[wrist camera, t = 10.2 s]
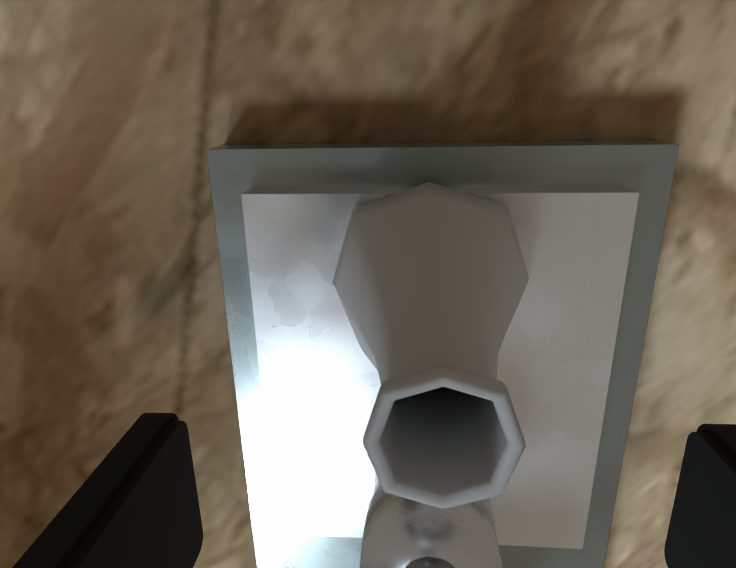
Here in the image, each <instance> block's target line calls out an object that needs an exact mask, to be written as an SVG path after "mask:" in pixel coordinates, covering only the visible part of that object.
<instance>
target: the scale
mask: <svg viewBox="0 0 736 568" xmlns="http://www.w3.org/2000/svg"><path fill="white" fill-rule="evenodd" d="M678 148H679V144H675V143H670V142H665V141H660V140H655V139H651V140H568V141H484V142H400V143H317V144H233V145H221V146H218V147H214V148H210V149H207V150H206V151H207V159H208V167H209V176H210V184H211V192H212V200H213V209H214V217H215V225H216V233H217V242H218V250H219V258H220V266H221V275H222V283H223V291H224V299H225V308H226V316H227V324H228V332H229V341H230V349H231V357H232V365H233V373H234V382H235V390H236V398H237V406H238V415H239V423H240V431H241V439H242V448H243V456H244V464H245V472H246V481H247V489H248V497H249V505H250V514H251V522H252V530H253V538H254V547H255V555H256V563H257V568H359V567H360V558H361V549H362V540H363V531H364V522H365V514H366V505H367V496H368V487H369V478H370V470H371V466H372V463H371V461H370V459H369V457H368V454H367V452H366V450H365V448H364V445H363V436H364V433H365V430H366V427H367V424H368V421H369V418H370V415H371V412H372V409H373V407H374V404H375V401H376V398H377V395H378V392H379V389H380V386H381V383H380V378H379V374H378V371H377V370H376V368H375V367H374V365H373V364H372V363H371V361H370V360H369V359H368V357H367V356H366V355H365V353H364V352H363V351H362V349H361V347H360V345H359V343H358V341H357V338H356V336H355V333H354V331H353V329H352V326H351V324H350V322H349V319H348V317H347V315H346V312H345V310H344V308H343V305H342V303H341V300H340V298H339V296H338V293H337V291H336V289H335V286H334V284H333V282H332V281H333V278H334V274H335V270H336V267H337V263H338V260H339V256H340V252H341V249H342V245H343V242H344V238H345V234H346V231H347V227H348V224H349V220H350V216H351V213H352V210H353V209H355V208H358V207H361V206H364V205H366V204H369V203H372V202H375V201H377V200H380V199H383V198H386V197H388V196H391V195H394V194H397V193H399V192H402V191H405V190H408V189H410V188H413V187H416V186H419V185H421V184H424V183H427V182H431V183H434V184H438V185H441V186H444V187H448V188H451V189H454V190H458V191H461V192H464V193H468V194H471V195H474V196H478V197H481V198H484V199H488V200H491V201H494V202H497V203H501V204H504V205H507V206H508V209H509V213H510V216H511V219H512V223H513V226H514V229H515V233H516V236H517V240H518V243H519V246H520V250H521V253H522V256H523V260H524V263H525V266H526V270H527V273H528V276H529V280H528V283H527V286H526V288H525V291H524V293H523V295H522V298H521V300H520V302H519V305H518V307H517V309H516V312H515V314H514V316H513V319H512V321H511V324H510V326H509V328H508V331H507V333H506V335H505V338H504V340H503V342H502V345H501V347H500V350H499V353H498V365H497V380H500V381H502V382H503V383H504V384H505V385H506V386H507V389H508V392H509V395H510V398H511V401H512V404H513V407H514V410H515V413H516V416H517V419H518V422H519V425H520V428H521V431H522V434H523V437H524V440H525V444H526V447H525V449H524V451H523V453H522V455H521V457H520V459H519V462H518V464H517V466H516V468H515V470H514V472H513V474H512V476H511V478H510V480H509V482H508V484H507V486H506V488H505V491H504V493H503V495H500V496H496V497H492V498H490V504H491V509H492V514H493V520H494V525H495V530H496V536H497V541H498V546H499V552H500V557H501V562H502V568H603V566H604V560H605V554H606V549H607V543H608V538H609V532H610V527H611V521H612V515H613V510H614V504H615V499H616V493H617V488H618V482H619V477H620V471H621V465H622V460H623V454H624V449H625V443H626V438H627V432H628V426H629V421H630V415H631V410H632V404H633V399H634V393H635V388H636V382H637V376H638V371H639V365H640V360H641V354H642V349H643V343H644V337H645V332H646V326H647V321H648V315H649V310H650V304H651V298H652V293H653V287H654V282H655V276H656V271H657V265H658V260H659V254H660V248H661V243H662V237H663V232H664V226H665V221H666V215H667V209H668V204H669V198H670V193H671V187H672V182H673V176H674V171H675V165H676V159H677V154H678Z"/></svg>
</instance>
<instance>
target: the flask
mask: <svg viewBox="0 0 736 568" xmlns="http://www.w3.org/2000/svg"><path fill="white" fill-rule="evenodd" d="M528 280H529V276H528V273H527V270H526V266H525V263H524V260H523V256H522V253H521V250H520V246H519V243H518V240H517V236H516V233H515V229H514V226H513V223H512V219H511V216H510V213H509V209H508V206H507V205H504V204H501V203H497V202H494V201H491V200H488V199H484V198H481V197H478V196H474V195H471V194H468V193H464V192H461V191H458V190H454V189H451V188H448V187H444V186H441V185H438V184H434V183H431V182H427V183H424V184H421V185H419V186H416V187H413V188H410V189H408V190H405V191H402V192H399V193H397V194H394V195H391V196H388V197H386V198H383V199H380V200H377V201H375V202H372V203H369V204H366V205H364V206H361V207H358V208H355V209H353V210H352V213H351V216H350V220H349V224H348V227H347V231H346V234H345V238H344V242H343V245H342V249H341V252H340V256H339V260H338V263H337V267H336V270H335V274H334V278H333V281H332V282H333V284H334V286H335V289H336V291H337V293H338V296H339V298H340V300H341V303H342V305H343V308H344V310H345V312H346V315H347V317H348V319H349V322H350V324H351V326H352V329H353V331H354V333H355V336H356V338H357V341H358V343H359V345H360V347H361V349H362V351H363V352H364V353H365V355H366V356H367V357H368V359H369V360H370V361H371V363H372V364H373V365H374V367H375V368H376V370H377V371H378V374H379V378H380V383H381V386H380V389H379V392H378V395H377V398H376V401H375V404H374V407H373V409H372V412H371V415H370V418H369V421H368V424H367V427H366V430H365V433H364V436H363V445H364V448H365V450H366V452H367V454H368V457H369V459H370V461H371V463H372V465H373V468H374V470H375V472H376V474H377V476H378V479H379V481H380V483H381V485H382V488H383V490H384V492H385V493H389V494H392V495H396V496H399V497H403V498H406V499H410V500H413V501H417V502H420V503H423V504H427V505H430V506H434V507H437V508H441V509H445V508H449V507H454V506H458V505H462V504H466V503H471V502H475V501H479V500H483V499H487V498H492V497H496V496H500V495H503V493H504V491H505V488H506V486H507V484H508V482H509V480H510V478H511V476H512V474H513V472H514V470H515V468H516V466H517V464H518V462H519V459H520V457H521V455H522V453H523V451H524V449H525V447H526V444H525V440H524V437H523V434H522V431H521V428H520V425H519V422H518V419H517V416H516V413H515V410H514V407H513V404H512V401H511V398H510V395H509V392H508V389H507V386H506V385H505V384H504V383H503V382H502V381H500V380H497V365H498V353H499V350H500V347H501V345H502V342H503V340H504V338H505V335H506V333H507V331H508V328H509V326H510V324H511V321H512V319H513V316H514V314H515V312H516V309H517V307H518V305H519V302H520V300H521V298H522V295H523V293H524V291H525V288H526V286H527V283H528Z"/></svg>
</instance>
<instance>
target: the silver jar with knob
mask: <svg viewBox="0 0 736 568" xmlns="http://www.w3.org/2000/svg"><path fill="white" fill-rule="evenodd" d="M359 568H502V562H501V557H500V552H499V546H498V541H497V536H496V530H495V525H494V520H493V514H492V509H491V504H490V498H487V499H483V500H479V501H475V502H471V503H466V504H462V505H458V506H454V507H449V508H445V509H441V508H437V507H434V506H430V505H427V504H423V503H420V502H417V501H413V500H410V499H406V498H403V497H399V496H396V495H392V494H389V493H385V492H384V490H383V488H382V485H381V483H380V481H379V479H378V476H377V474H376V472H375V470H374V468H373V465H372V466H371V470H370V478H369V487H368V496H367V505H366V514H365V522H364V531H363V540H362V549H361V558H360V567H359Z"/></svg>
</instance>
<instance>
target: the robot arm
mask: <svg viewBox="0 0 736 568" xmlns="http://www.w3.org/2000/svg"><path fill="white" fill-rule="evenodd" d="M202 541H203V529H202V522H201V516H200V509H199V502H198V495H197V489H196V482H195V475H194V468H193V462H192V455H191V448H190V441H189V434H188V428H187V425H186V423H185V422H184V421H179V419H178V417H177V415H176V414H174V413H144V414H142V415H141V416H140V417H139V418H138V420H137V421H136V422H135V423H134V424H133V425H132V427H131V428H130V429H129V430H128V431H127V433H126V434H125V435H124V436H123V437H122V439H121V440H120V441H119V442H118V443H117V444H116V446H115V447H114V448H113V449H112V450H111V452H110V453H109V454H108V455H107V456H106V457H105V459H104V460H103V461H102V462H101V463H100V465H99V466H98V467H97V468H96V469H95V470H94V472H93V473H92V474H91V475H90V476H89V478H88V479H87V480H86V481H85V482H84V483H83V485H82V486H81V487H80V488H79V489H78V491H77V492H76V493H75V494H74V495H73V496H72V498H71V499H70V500H69V501H68V502H67V504H66V505H65V506H64V507H63V508H62V510H61V511H60V512H59V513H58V514H57V515H56V517H55V518H54V519H53V520H52V521H51V523H50V524H49V525H48V526H47V527H46V528H45V530H44V531H43V532H42V533H41V534H40V536H39V537H38V538H37V539H36V540H35V541H34V543H33V544H32V545H31V546H30V547H29V549H28V550H27V551H26V552H25V553H24V554H23V556H22V557H21V558H20V559H19V560H18V562H17V563H16V564H15V565H14V566H13V567H12V568H193V566H194V564H195V562H196V560H197V557H198V555H199V553H200V550H201V546H202ZM665 559H666V563H667V566H668V568H736V425H735V424H703V425H700V426H699V428H698V429H697V432H692V433H690V434H689V436H688V439H687V443H686V448H685V452H684V457H683V462H682V467H681V472H680V476H679V481H678V486H677V491H676V496H675V500H674V505H673V510H672V515H671V519H670V524H669V529H668V534H667V539H666V543H665Z"/></svg>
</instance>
